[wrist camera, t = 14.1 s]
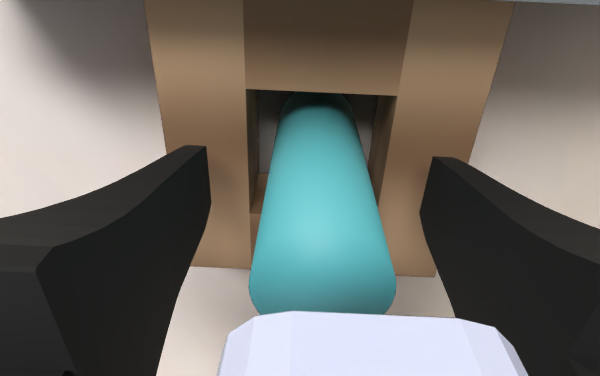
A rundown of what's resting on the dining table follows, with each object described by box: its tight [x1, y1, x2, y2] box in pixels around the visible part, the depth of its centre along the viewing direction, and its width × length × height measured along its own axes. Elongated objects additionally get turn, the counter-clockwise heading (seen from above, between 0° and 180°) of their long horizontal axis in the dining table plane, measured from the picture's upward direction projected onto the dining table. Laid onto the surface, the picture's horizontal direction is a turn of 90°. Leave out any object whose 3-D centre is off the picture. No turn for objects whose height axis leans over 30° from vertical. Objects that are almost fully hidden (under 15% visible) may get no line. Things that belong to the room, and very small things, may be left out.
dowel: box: [249, 91, 396, 315], centre depth 12 cm, size 3×3×9 cm
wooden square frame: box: [143, 0, 516, 277], centre depth 14 cm, size 10×10×3 cm
